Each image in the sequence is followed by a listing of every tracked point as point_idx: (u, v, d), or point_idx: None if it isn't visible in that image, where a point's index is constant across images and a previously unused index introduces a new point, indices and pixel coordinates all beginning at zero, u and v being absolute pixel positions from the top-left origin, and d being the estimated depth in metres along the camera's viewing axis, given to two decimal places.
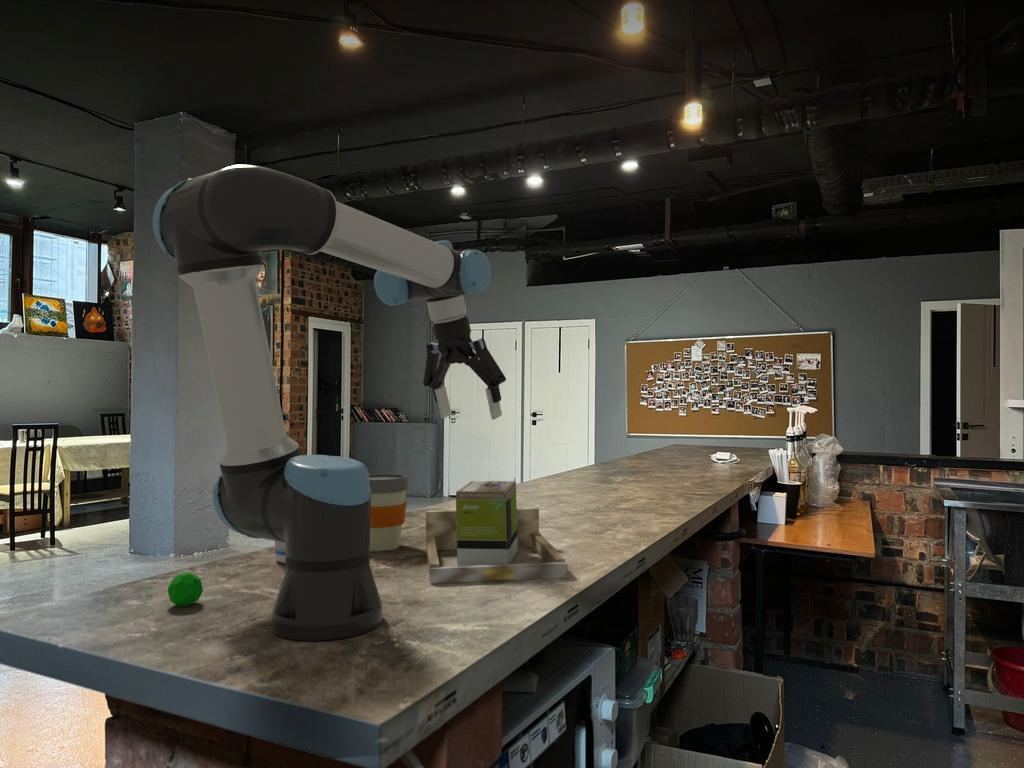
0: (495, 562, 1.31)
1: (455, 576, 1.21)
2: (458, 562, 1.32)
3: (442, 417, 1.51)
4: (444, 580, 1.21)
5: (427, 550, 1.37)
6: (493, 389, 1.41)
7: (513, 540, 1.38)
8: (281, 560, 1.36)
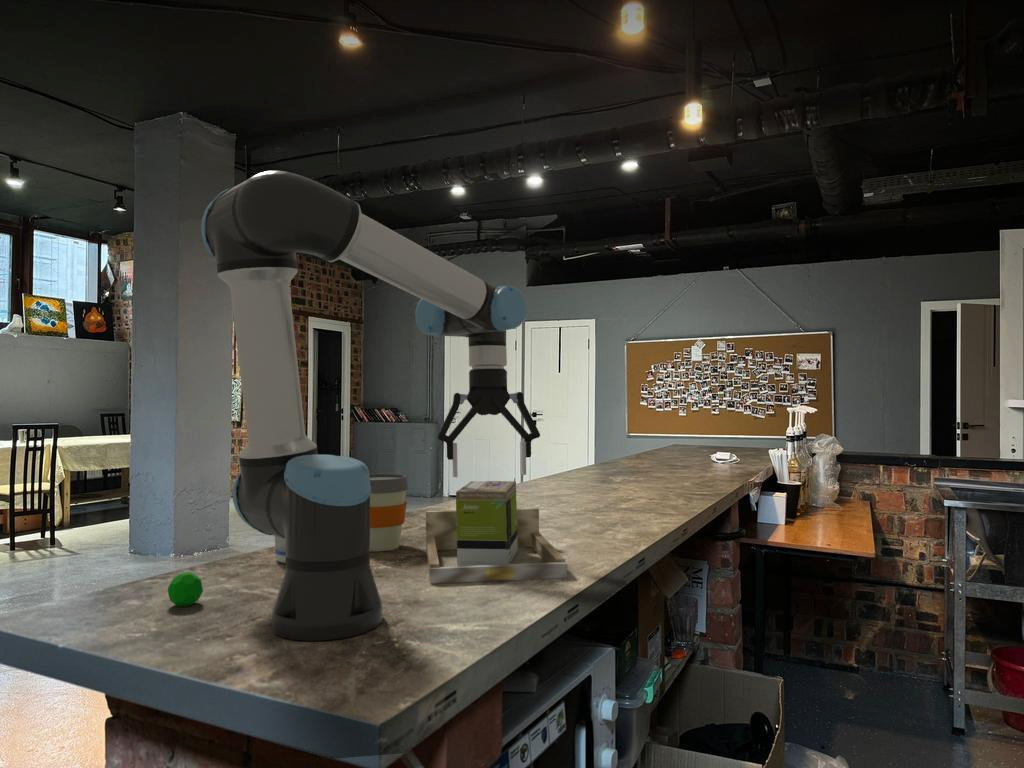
0: (495, 562, 1.31)
1: (455, 576, 1.21)
2: (458, 562, 1.32)
3: (455, 475, 1.37)
4: (444, 580, 1.21)
5: (427, 550, 1.37)
6: (529, 443, 1.40)
7: (513, 540, 1.38)
8: (281, 560, 1.36)
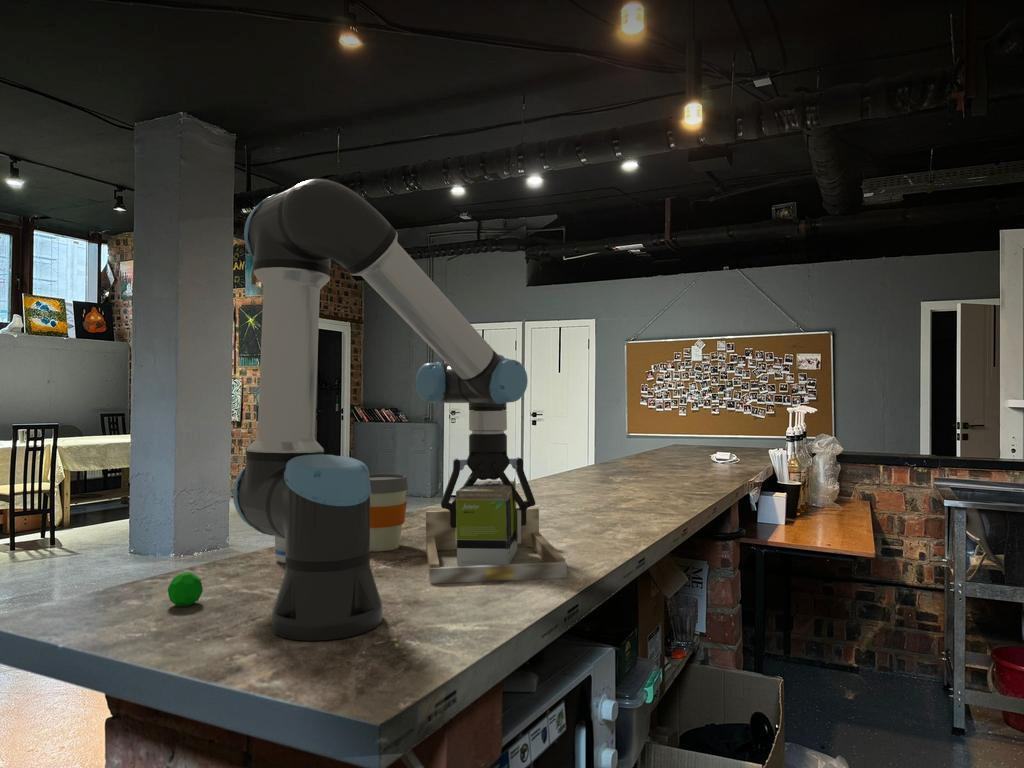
0: (495, 562, 1.31)
1: (455, 576, 1.21)
2: (458, 562, 1.32)
3: None
4: (444, 580, 1.21)
5: (427, 550, 1.37)
6: (524, 511, 1.39)
7: (513, 540, 1.38)
8: (281, 560, 1.36)
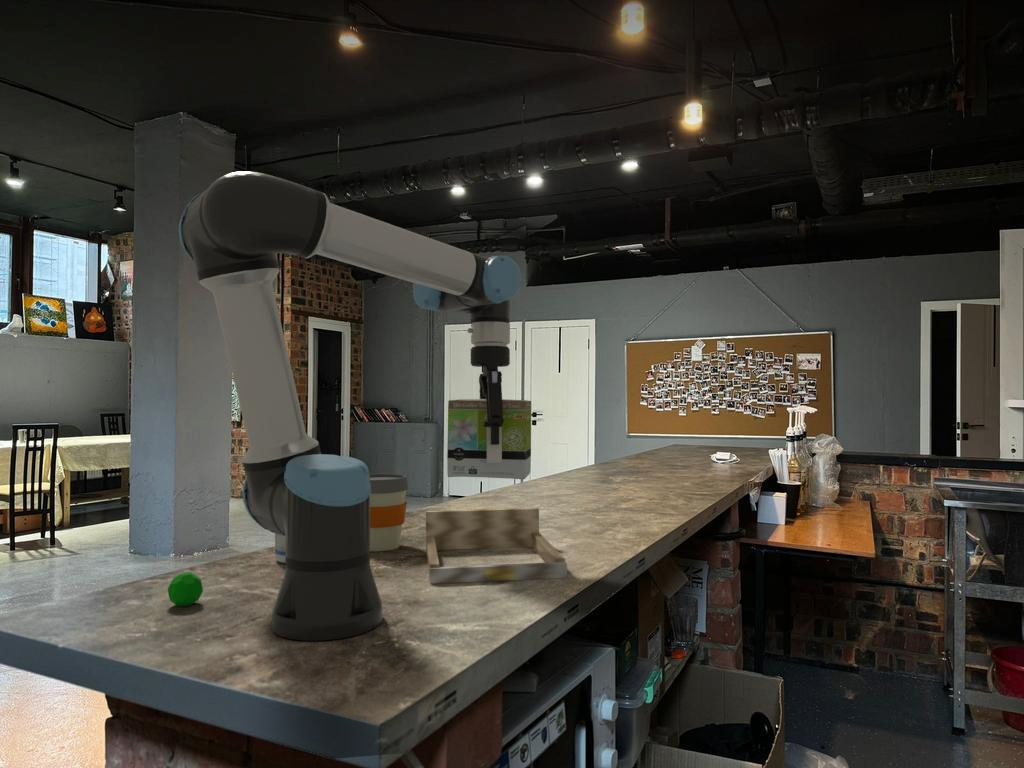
0: (529, 469, 1.36)
1: (455, 576, 1.21)
2: (525, 474, 1.29)
3: None
4: (444, 580, 1.21)
5: (427, 550, 1.37)
6: None
7: None
8: (281, 560, 1.36)
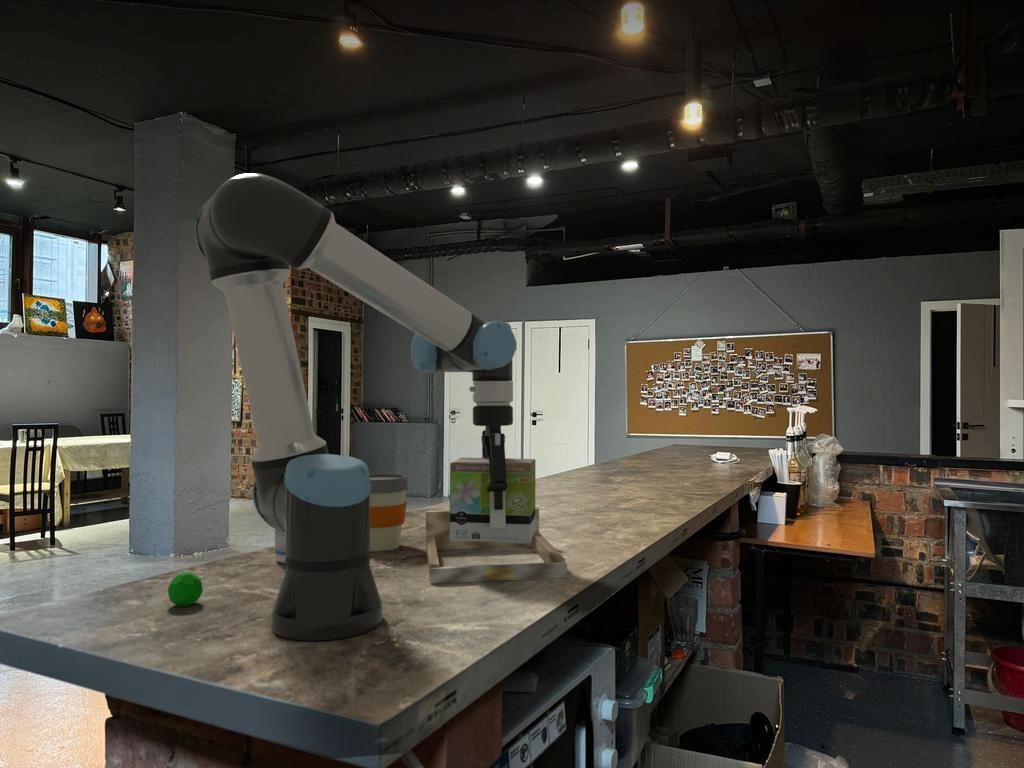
0: None
1: (455, 576, 1.21)
2: (530, 538, 1.26)
3: None
4: (444, 580, 1.21)
5: (427, 550, 1.37)
6: None
7: None
8: (281, 560, 1.36)
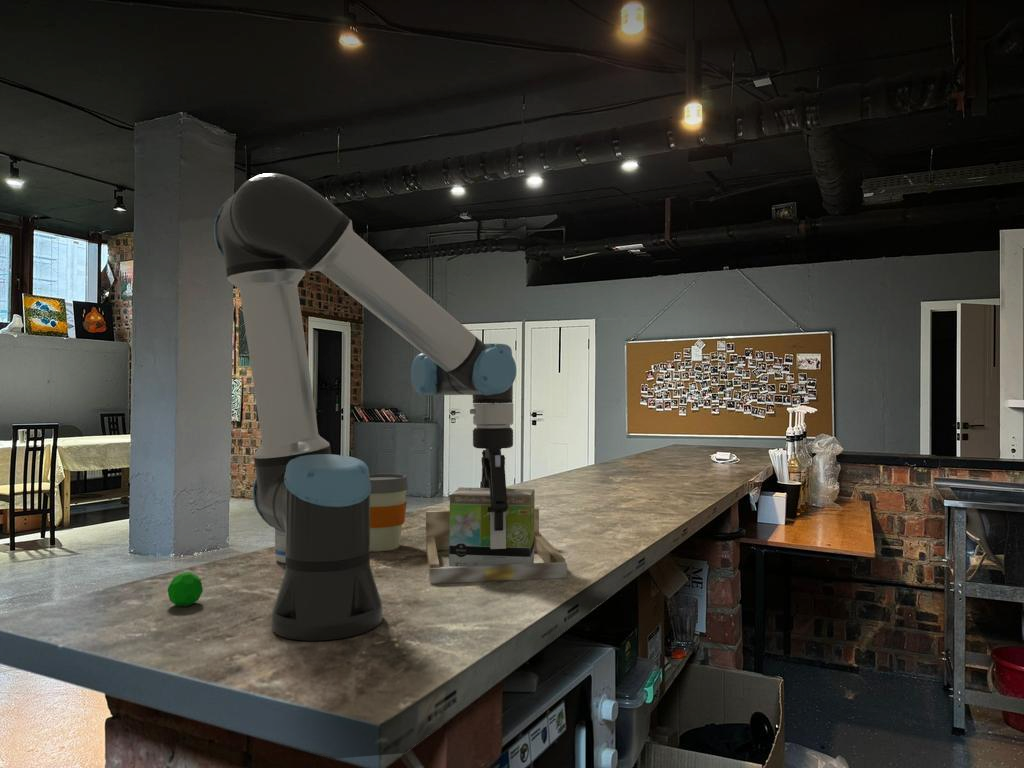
0: (533, 560, 1.32)
1: (455, 576, 1.21)
2: None
3: (505, 546, 1.25)
4: (444, 580, 1.21)
5: (427, 550, 1.37)
6: None
7: None
8: (281, 560, 1.36)
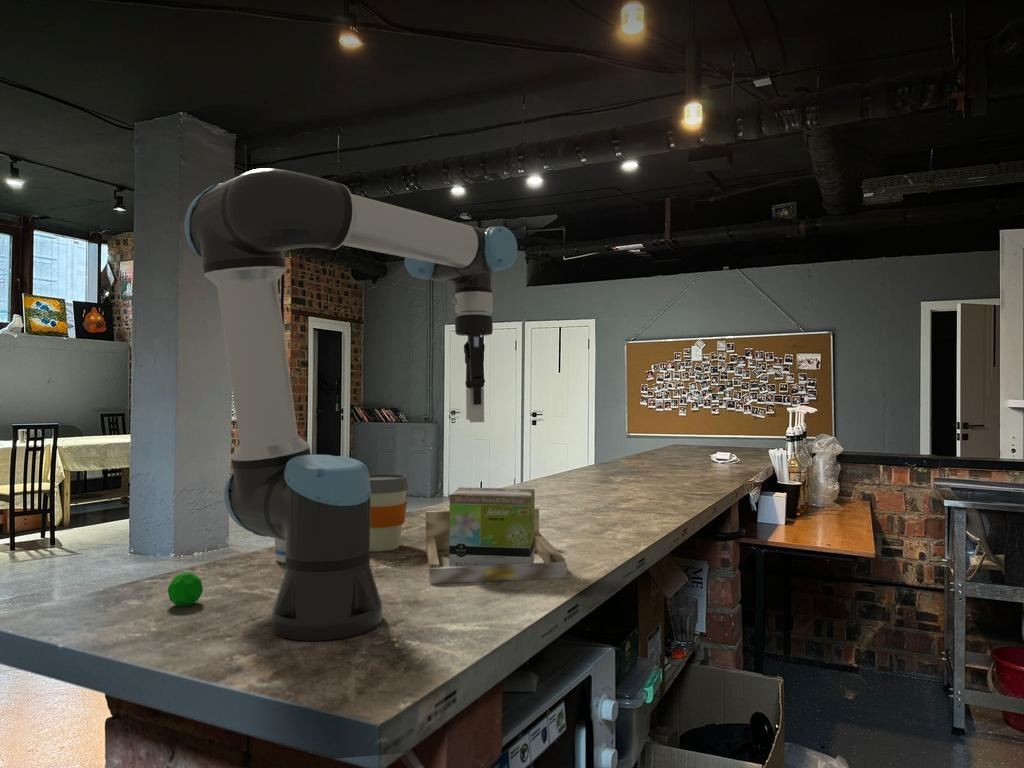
0: (533, 560, 1.32)
1: (455, 576, 1.21)
2: None
3: None
4: (444, 580, 1.21)
5: (427, 550, 1.37)
6: None
7: None
8: (281, 560, 1.36)
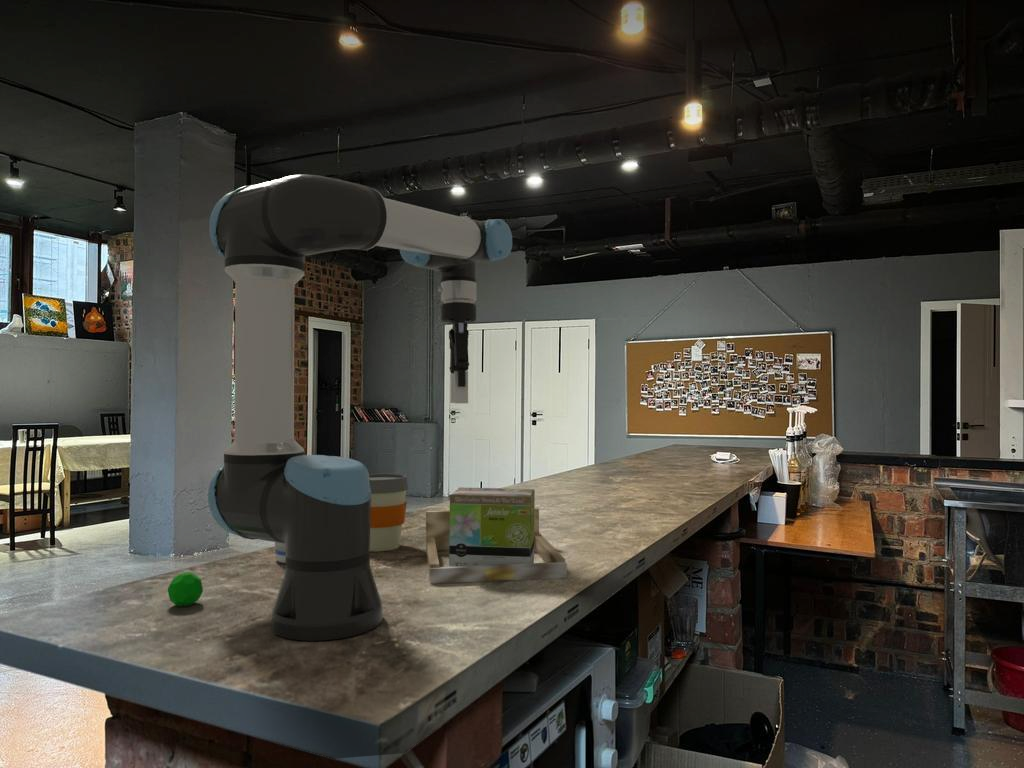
0: None
1: (455, 576, 1.21)
2: None
3: (467, 402, 1.43)
4: (444, 580, 1.21)
5: (427, 550, 1.37)
6: None
7: None
8: (281, 560, 1.36)
